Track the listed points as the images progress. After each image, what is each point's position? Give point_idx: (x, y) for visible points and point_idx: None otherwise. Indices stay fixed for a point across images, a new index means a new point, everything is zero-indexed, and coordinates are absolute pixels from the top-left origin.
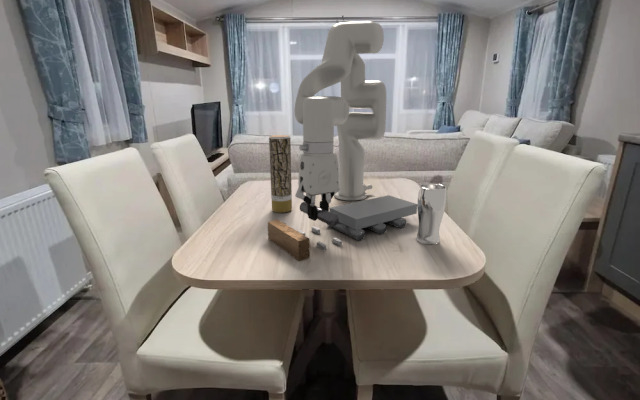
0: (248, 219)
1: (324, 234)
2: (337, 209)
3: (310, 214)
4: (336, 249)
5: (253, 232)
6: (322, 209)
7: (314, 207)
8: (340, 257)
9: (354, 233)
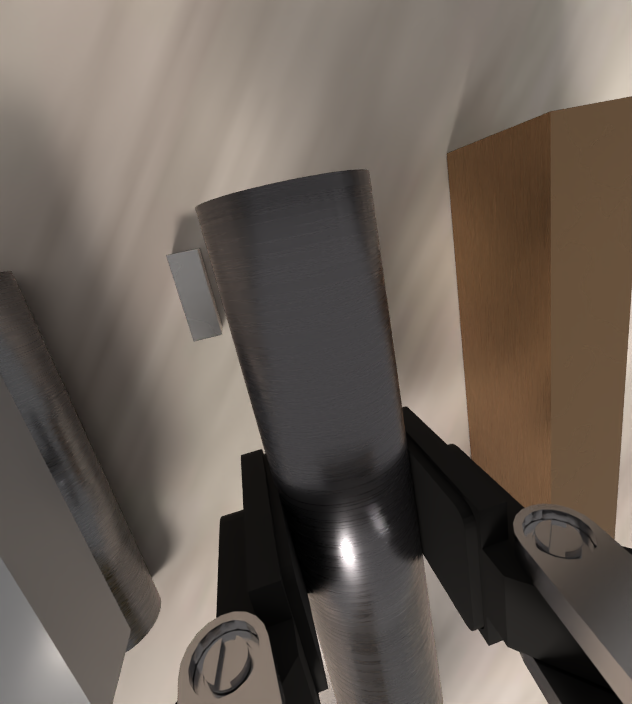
0: (505, 697)
1: (224, 460)
2: (33, 685)
3: (467, 459)
4: None
5: None
6: (355, 486)
7: (495, 495)
8: (263, 57)
9: (8, 311)
